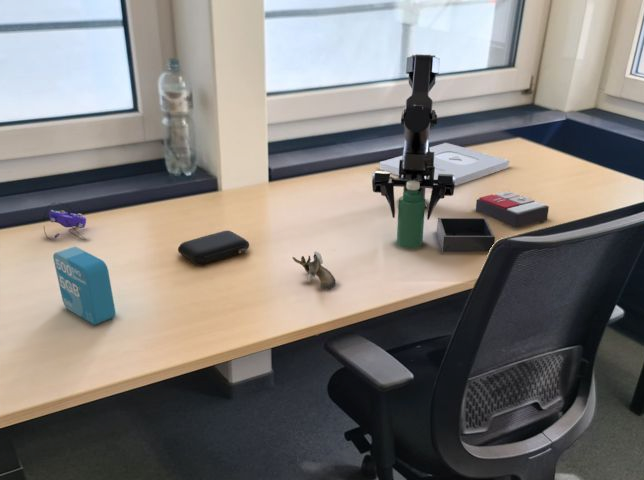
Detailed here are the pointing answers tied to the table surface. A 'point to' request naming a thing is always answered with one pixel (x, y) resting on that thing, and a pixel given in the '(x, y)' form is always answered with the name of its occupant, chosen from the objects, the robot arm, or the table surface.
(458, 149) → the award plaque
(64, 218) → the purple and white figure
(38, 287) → the table surface
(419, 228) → the bottle
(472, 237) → the tray
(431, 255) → the table surface
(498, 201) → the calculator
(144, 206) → the table surface
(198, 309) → the table surface
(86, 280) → the data package
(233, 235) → the carrying case
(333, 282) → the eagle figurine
